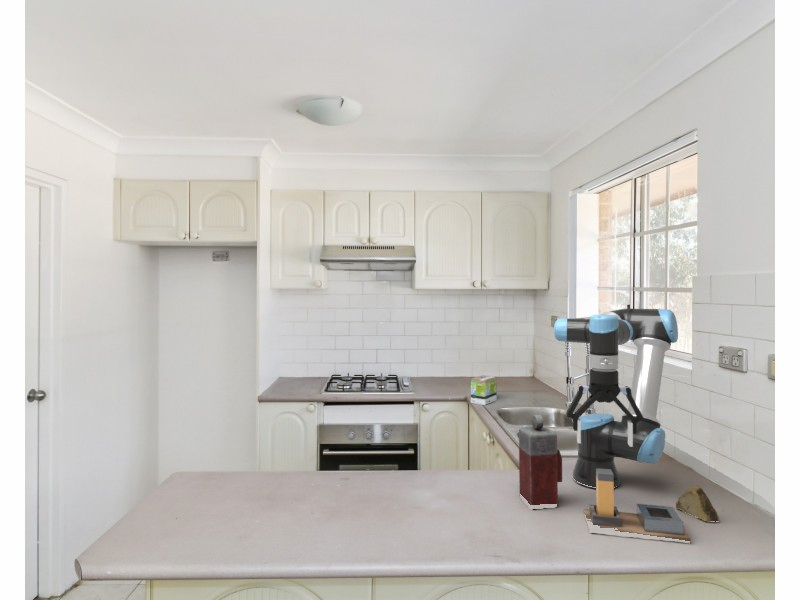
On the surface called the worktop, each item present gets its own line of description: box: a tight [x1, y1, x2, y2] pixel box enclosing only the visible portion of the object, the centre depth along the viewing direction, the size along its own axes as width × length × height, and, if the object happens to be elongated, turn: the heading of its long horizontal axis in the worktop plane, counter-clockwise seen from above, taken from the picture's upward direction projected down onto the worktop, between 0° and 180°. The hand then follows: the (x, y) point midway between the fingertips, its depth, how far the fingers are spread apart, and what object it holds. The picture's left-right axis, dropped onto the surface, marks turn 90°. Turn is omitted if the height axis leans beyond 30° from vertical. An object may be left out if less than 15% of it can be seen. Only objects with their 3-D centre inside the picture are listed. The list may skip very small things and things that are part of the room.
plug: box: [595, 468, 615, 516], centre depth 136 cm, size 4×4×14 cm
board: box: [583, 503, 691, 542], centre depth 134 cm, size 12×25×4 cm, turn 76°
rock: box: [675, 485, 721, 522], centre depth 141 cm, size 11×9×10 cm
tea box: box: [470, 374, 498, 406], centre depth 283 cm, size 15×10×15 cm
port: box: [636, 503, 684, 536], centre depth 133 cm, size 9×9×4 cm
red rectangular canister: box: [518, 414, 563, 505], centre depth 151 cm, size 9×11×28 cm
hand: (604, 443), depth 135 cm, fingers open, 13 cm apart
